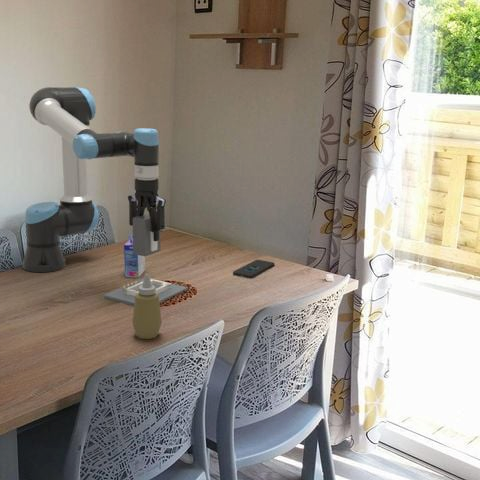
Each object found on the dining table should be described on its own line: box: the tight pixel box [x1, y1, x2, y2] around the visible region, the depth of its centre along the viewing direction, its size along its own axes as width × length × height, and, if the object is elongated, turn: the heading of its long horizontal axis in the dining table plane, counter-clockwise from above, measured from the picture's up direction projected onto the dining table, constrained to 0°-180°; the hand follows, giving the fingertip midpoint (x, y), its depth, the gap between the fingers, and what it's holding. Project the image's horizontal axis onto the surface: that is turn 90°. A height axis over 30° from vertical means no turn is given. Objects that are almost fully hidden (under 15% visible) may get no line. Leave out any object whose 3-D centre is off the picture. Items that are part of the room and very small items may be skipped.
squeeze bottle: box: [132, 273, 163, 340], centre depth 177 cm, size 8×8×18 cm
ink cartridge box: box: [123, 233, 146, 279], centre depth 231 cm, size 10×6×14 cm, turn 174°
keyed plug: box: [132, 213, 161, 258], centre depth 207 cm, size 5×9×12 cm, turn 150°
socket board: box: [103, 278, 189, 307], centre depth 212 cm, size 18×22×2 cm
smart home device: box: [232, 259, 275, 280], centre depth 242 cm, size 8×2×20 cm
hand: (146, 248), depth 208 cm, fingers closed on keyed plug, 5 cm apart
